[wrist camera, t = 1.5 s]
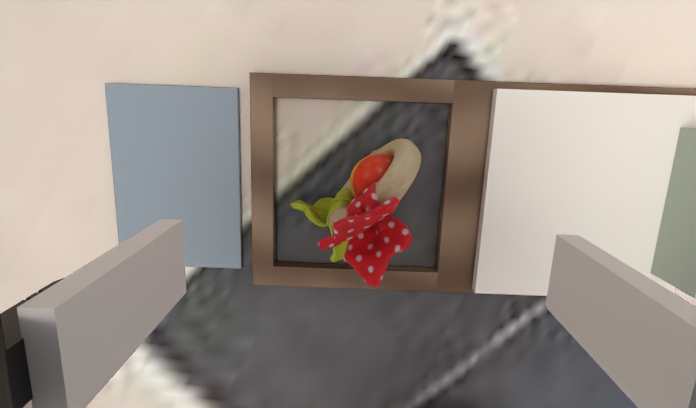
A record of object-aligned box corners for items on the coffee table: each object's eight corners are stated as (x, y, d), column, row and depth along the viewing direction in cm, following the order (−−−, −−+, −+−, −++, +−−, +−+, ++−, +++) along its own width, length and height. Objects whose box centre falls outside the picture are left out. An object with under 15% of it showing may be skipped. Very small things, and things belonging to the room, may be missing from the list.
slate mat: (242, 266, 33) (241, 268, 32) (123, 262, 33) (120, 264, 32) (238, 88, 30) (237, 88, 29) (108, 83, 30) (104, 83, 29)
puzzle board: (658, 294, 33) (667, 300, 32) (255, 279, 33) (252, 284, 32) (702, 89, 29) (714, 89, 28) (253, 73, 29) (249, 72, 28)
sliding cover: (665, 295, 31) (720, 329, 27) (471, 288, 31) (492, 320, 27) (708, 96, 28) (779, 95, 23) (493, 89, 28) (521, 86, 23)
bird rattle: (342, 131, 32) (270, 230, 30) (392, 72, 22) (286, 219, 20) (407, 180, 33) (342, 280, 31) (486, 147, 22) (394, 296, 20)
